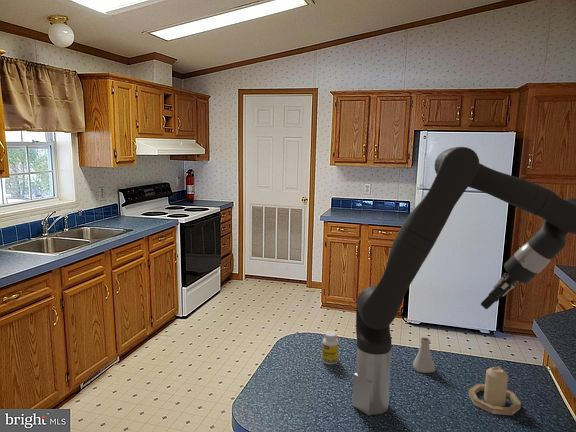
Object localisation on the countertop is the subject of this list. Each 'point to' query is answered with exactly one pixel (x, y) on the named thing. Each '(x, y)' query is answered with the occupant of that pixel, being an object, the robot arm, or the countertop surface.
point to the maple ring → (494, 409)
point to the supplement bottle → (330, 348)
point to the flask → (424, 358)
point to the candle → (495, 386)
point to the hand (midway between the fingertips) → (487, 301)
